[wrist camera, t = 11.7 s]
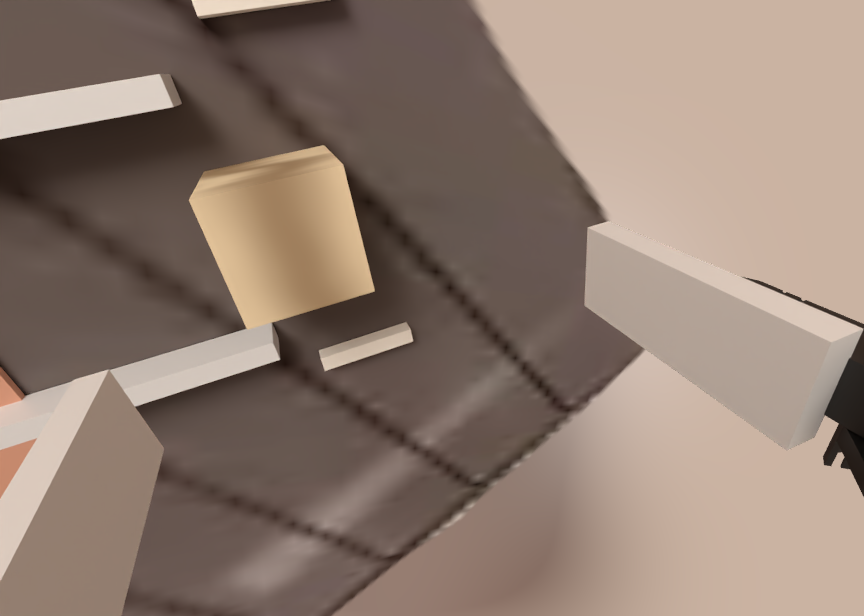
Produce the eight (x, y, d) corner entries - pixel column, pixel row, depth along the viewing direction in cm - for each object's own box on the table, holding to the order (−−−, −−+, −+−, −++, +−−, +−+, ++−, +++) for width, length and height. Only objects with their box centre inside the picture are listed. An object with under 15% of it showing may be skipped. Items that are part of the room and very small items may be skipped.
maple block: (248, 278, 24) (247, 329, 19) (204, 171, 21) (188, 200, 16) (351, 249, 26) (375, 291, 21) (323, 145, 23) (343, 164, 18)
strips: (323, 362, 28) (325, 371, 28) (189, -10, 18) (186, -14, 17) (408, 333, 30) (413, 341, 29) (330, -28, 19) (333, -33, 19)
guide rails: (18, 418, 23) (-5, 451, 21) (-232, 141, 16) (-304, 151, 14) (278, 337, 26) (280, 359, 24) (170, 74, 19) (159, 74, 17)
